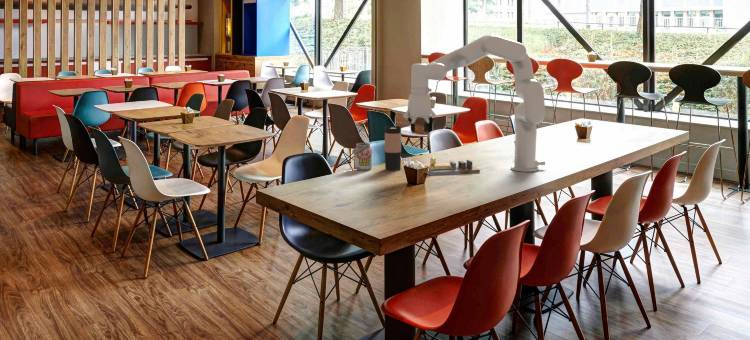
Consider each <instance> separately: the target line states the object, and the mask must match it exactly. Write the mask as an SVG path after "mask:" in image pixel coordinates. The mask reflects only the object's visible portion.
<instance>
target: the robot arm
mask: <svg viewBox="0 0 750 340" xmlns="http://www.w3.org/2000/svg"><path fill="white" fill-rule="evenodd" d="M489 55H493V56H496V57H498V58H501V59H503V60H505V61H507V62H509V64H511V67H512V70H513V75H514V76H513V77H514V89H515V90H514V91H515V94H516V97H518V98H519V99H522V100H523V101H522V102H519V104H518V105H517V106H516V107H515V109H514V120H515V121H514V122H515V138H514V139H515V140H514V163H513V165H511V166H510V170H512V171H514V172H520V173H521V172H523V173H530V172H537V171H539V167H538V166H545V165H546V161H545V160H537V159H536V156H537V155H536V152H537V125H539V124H541V123H542V122H543V121H544V118H545V115H546V106H545V93H544V92H545V91H544V87H543V86H542V84H541V82H539V81H538V80H536V79H535V77H534V69H533V64H532V60H531V58H530V56H529V55H528V53H527V49H526V46H525V45H524V44H523V43H521V42H519V41H516V40H512V39H508V38H506V37H505V38H504V37H503V36H498V35H497V34H496V35H495V34H486V35H482V36H480V37H479V38H477V39H475V40H473V41H471V42H470V43H467V44H466V45H463V46H461V47H460V48H457V49H455V50H453V51H451V52H449V53H447V54H445V55H443V56H440V57H438V58H436V59H434V60H433V61H431V62H429V63H428V64H427V63H422V62H421V63H413V64H412V65H411V94H409V96H408V102H407V110H406V111H405V113H404V114H403V116H402V117H403V118H404V119H406V120H407V121H408V122H409V124H410V131H411V133H413V134H414V133H416V124H415V121H416V118H424V123H423V131H424V132H425V133H428V130H429V123H430V122H431V121H432V120H433V119H434V118H435V117H436V116H437V115H436V113H435V112H434V111H433V110H432V101H431V95H430V93H431V92H432V88H429V80H431V81H432V80H433V81H441V80H443V79H445V78H446V77H447V74H448V72H450V71H452V70H456V69H458V68H459V69H460V68H464V67H467V66H470V65H472V64H474V63H475V62H478V61H479V60H481V59H483V58H485V57H487V56H489Z"/></svg>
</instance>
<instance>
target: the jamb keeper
mask: <svg viewBox="0 0 750 340" xmlns="http://www.w3.org/2000/svg"><path fill="white" fill-rule="evenodd" d="M457 162H458V163H457V166H456V169H457V170H459V174H458V175H462V174H463V175H464V174H480V173H481V172H480V171H481V170H480V168H478V167H476V166H474V165H473V161H472V160H471V159H466V161H465V160H458V161H457Z"/></svg>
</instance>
